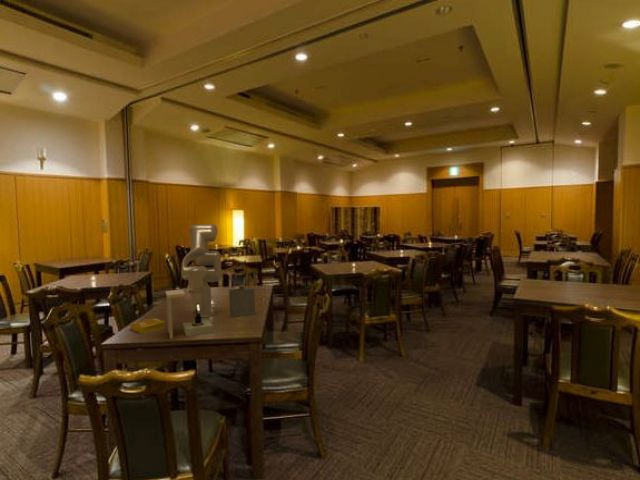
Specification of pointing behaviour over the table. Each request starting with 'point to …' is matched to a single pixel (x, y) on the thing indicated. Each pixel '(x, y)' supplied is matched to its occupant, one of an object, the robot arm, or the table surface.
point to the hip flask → (242, 302)
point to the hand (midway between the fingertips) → (197, 321)
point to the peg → (194, 319)
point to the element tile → (147, 325)
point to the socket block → (188, 327)
